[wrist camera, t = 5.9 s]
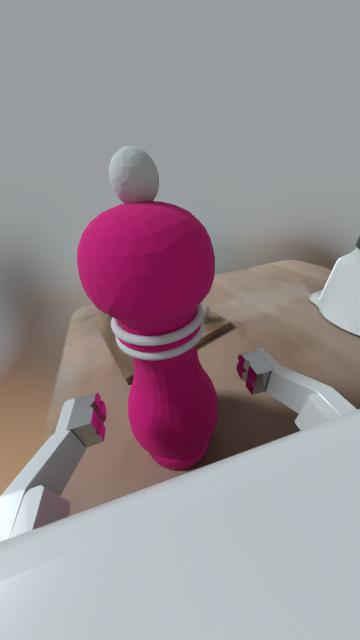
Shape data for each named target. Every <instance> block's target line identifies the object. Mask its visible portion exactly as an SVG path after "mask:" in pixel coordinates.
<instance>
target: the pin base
mask: <svg viewBox="0 0 360 640" xmlns="http://www.w3.org/2000/svg"><path fill="white" fill-rule="evenodd" d="M202 307H203V310H204V317H203V323H204V332H203V335H202V337H201V339H200V340H199V342H198V343H197V344H196V347H197V346H198V345H200V344H202V343H204V342H206V341H207V340H209V339H211V338H213V337H214V336H216V335H218V334H220V333H222V332H223V331H225V330H227V329H229V328H230V323H231V322H230V321H228V320H226V319H225V318H223V317H221V316H219V315H217V314H216V313H214V312H212V311H210V308H209V307H208V306H202ZM93 319H94V321H95V323H96V325H97V327H98V329H99V331H100V333H101V335H102V336H103V338H104V340H105V342H106V344H107V346H108V348H109V350H110V351H111V353H112V355H113V357H114V359H115V361H116V363H117V364H118V366H119V368H120V370H121V372H122V374H123V376H124V378H125V379H126V381H127V383H128V385H129V384H131V383H132V382H133V378H134V364H133V359H132V357H131V356H129V355H127V354H126V353H124V352H123V351H122V350H121V349H120V348H119V346H118V344H117V342H116V335H115V334H114V333H113V331H112V328H111V320H112V317H111V316H109V315H107V314H106V313H102V314H99V315H96V316H93Z"/></svg>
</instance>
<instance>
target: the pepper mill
mask: <svg viewBox="0 0 360 640" xmlns="http://www.w3.org/2000/svg"><path fill="white" fill-rule="evenodd" d="M109 177H110V182H111V186H112V188H113V190H114V192H115V194H116V195H117V197H118V198H119V199H120V200H121V201H122V202H124V203H125V204H121V205H118V206H116V207H114V208H111V209H109V210H107V211H104V212H102V213H101V214H100V215H98V216H97V217H96V218H95V219H94V220H92V221H91V222H90V223H89V225H88V226H87V228H86V229H85V231H84V232H83V234H82V236H81V239H80V242H79V246H78V251H77V265H78V271H79V276H80V280H81V283H82V286H83V288H84V290H85V292H86V294H87V296H88V297H89V298H90V299H91V301H92V302H93V303H94V304H95V306H96V307H97V308H98V309H99V310H101V311H103V312H104V313H106V314H107V315H109V316H111V317H112V320H111V328H112V331H113V333H114V334H115V335H116V342H117V344H118V346H119V348H120V349H121V350H122V351H123V352H124V353H126V354H127V355H129V356H131V357H132V359H133V364H134V378H133V383H132V386H131V390H130V393H129V401H128V416H129V420H130V424H131V428H132V431H133V434H134V436H135V438H136V439H137V441H138V442H139V444H140V445H141V446H142V447H143V448H144V449H145V450H147V451H148V452H149V453H150V455H151V456H152V458H153V459H154V460H155V461H156V462H157V463H158V464H159V465H161V466H163V467H165V468H167V469H171V470H182V469H186V468H189V467H191V466H193V465H194V464H196V463H197V462H198V461H199V460H200V459H201V458H202V457H203V456H204V454H205V452H206V451H207V449H208V446H209V443H210V438H211V435H212V433H213V431H214V429H215V426H216V423H217V418H218V400H217V395H216V391H215V389H214V386H213V384H212V381H211V379H210V378H209V376H208V375H207V373H206V372H205V371H204V369H203V368H202V366H201V365H200V362H199V359H198V354H197V348H196V344H197V343H198V342H199V340H200V339H201V337H202V335H203V332H204V323H203V317H204V310H203V307H202V305H201V304H200V303H201V302H202V300H203V299H204V298H205V297H206V295H207V294H208V293H209V291H210V289H211V286H212V283H213V279H214V272H215V257H214V252H213V247H212V243H211V239H210V237H209V235H208V233H207V231H206V229H205V227H204V226H203V225H202V224H201V223H200V221H199V220H198V219H196V218H195V217H194V216H193V215H192V214H191V213H190V212H189V211H187V210H185V209H183V208H180V207H178V206H176V205H173V204H169V203H164V202H157V201H153V200H154V198H155V197H156V195H157V192H158V188H159V175H158V172H157V167H156V166H155V164H154V162H153V160H152V158H151V157H150V156H149V155H148V154H147V153H146V152H145V151H143V150H142V149H140V148H138V147H132V146H126V147H123V148H121V149H120V150H119V151H118V152H116V153H115V155H114V156H113V157H112V160H111V163H110V166H109Z"/></svg>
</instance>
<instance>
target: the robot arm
mask: <svg viewBox="0 0 360 640" xmlns="http://www.w3.org/2000/svg"><path fill="white" fill-rule="evenodd" d="M356 246H357V248H356V249H355V250H354V251H352V252H351V253H349V254H347V255H345V256H343V257H342V258H339V259H338V260H337V262H336V264H335V266H334V268H333V270H332V272H331V274H330V276H329V278H328V280H327V282H326V285H325V287H324V289H323V290H322V291H319V292H316V293H313V294H312V295H311V296H310V298H309V299H310V301H311V302H313V303H314V304H315V305H317V306H318V308H319V309H320V312H321V313H322V315H323V316H324V317H325V318H326V319H328V320H329V321H330V322H332V323H333V324H335V325H337V326H338V327H340V328H342V329H344V330H346V331H349V332H351V333H353V334H356V335H359V336H360V236H359V239H358V241H357V243H356ZM238 360H239V363H238V364H237V372H238V374H239V376H240V378H241V379H242V380H244V381H246V387H247V388H248V390H249V391H250V393H251V394H252V395H254V394H257V393H261V392H265V391H266V393H268V394H269V395H271V396H272V397H274V398H275V399H277V400H278V401H280V402H281V403H283V404H284V405H286V406H287V407H289V408H290V409H292V410H294V411H295V412H297V413H298V416H297V418H296V419H295V424H296V425H297V427H298V428H299V429H300V430H301V431H298V432H296V433H293V434H290V435H288V436H285V437H282V438H279V439H277V440H274V441H271V442H269V443H266V444H263V445H261V446H258V447H255V448H252V449H250V450H247V451H244V452H242V453H239V454H236V455H234V456H231V457H228V458H225V459H223V460H220V461H217V462H215V463H212V464H209V465H206V466H204V467H201V468H198V469H196V470H193V471H190V472H188V473H185V474H182V475H179V476H177V477H174V478H171V479H169V480H166V481H163V482H161V483H158V484H155V485H152V486H150V487H147V488H144V489H142V490H139V491H136V492H133V493H131V494H128V495H125V496H123V497H120V498H117V499H115V500H112V501H109V502H106V503H104V504H101V505H98V506H96V507H93V508H90V509H88V510H85V511H82V512H79V513H77V514H74V515H71V516H69V510H70V502H69V501H68V500H66V499H64V498H63V497H61V496H60V495H61V493H62V492H63V490H64V488H65V486H66V484H67V483H68V481H69V479H70V477H71V475H72V474H73V472H74V470H75V468H76V467H77V465H78V463H79V461H80V459H81V458H82V456H83V454H84V452H85V450H86V447H89V446H92V445H95V444H98V443H101V442H104V436H105V427H104V425H103V423H104V421H105V420H106V407H105V404H104V402H103V401H101V400H100V395H99V393H95V394H91V395H87V396H83V397H78V398H74V399H71V400H67V401H66V402H65V403H64V405H63V408H62V411H61V415H60V418H59V421H58V424H57V428H56V431H55V434H54V435H52V436H50V438H49V439H48V440H47V441H46V442H45V443H44V445H43V446H42V447H41V448H40V449H39V451H38V452H37V453H36V454H35V456H34V457H33V458H32V459H31V460H30V461H29V463H28V464H27V465H26V466H25V468H24V469H23V470H22V471H21V472H20V473H19V475H18V476H17V477H16V478H15V479H14V481H13V482H12V483H11V484H10V485H9V486H8V488H7V489H6V490H5V491H4V493H3V494H2V495H1V496H0V640H360V409H358V410H357V409H356V408H355V407H354V406H353V405H351V404H350V403H349V402H348V401H347V400H346V399H345V398H344V397H342V396H341V395H340V394H339V393H338V392H337V391H336V390H334V389H333V388H332V387H330V386H328V385H325V384H323V383H321V382H318V381H316V380H314V379H311V378H309V377H307V376H304V375H302V374H300V373H297V372H295V371H293V370H290V369H288V368H285V367H283V368H282V367H281V366H280V365H279V364H278V363H277V362H276V361H275V360H274V359H273V358H272V357H271V356H270V355H269V354H268V353H267V352H266V351H265V350H264V349H258V350H255V351H250V352H247V353H243V354H240V355H239V356H238ZM68 516H69V517H68Z"/></svg>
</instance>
